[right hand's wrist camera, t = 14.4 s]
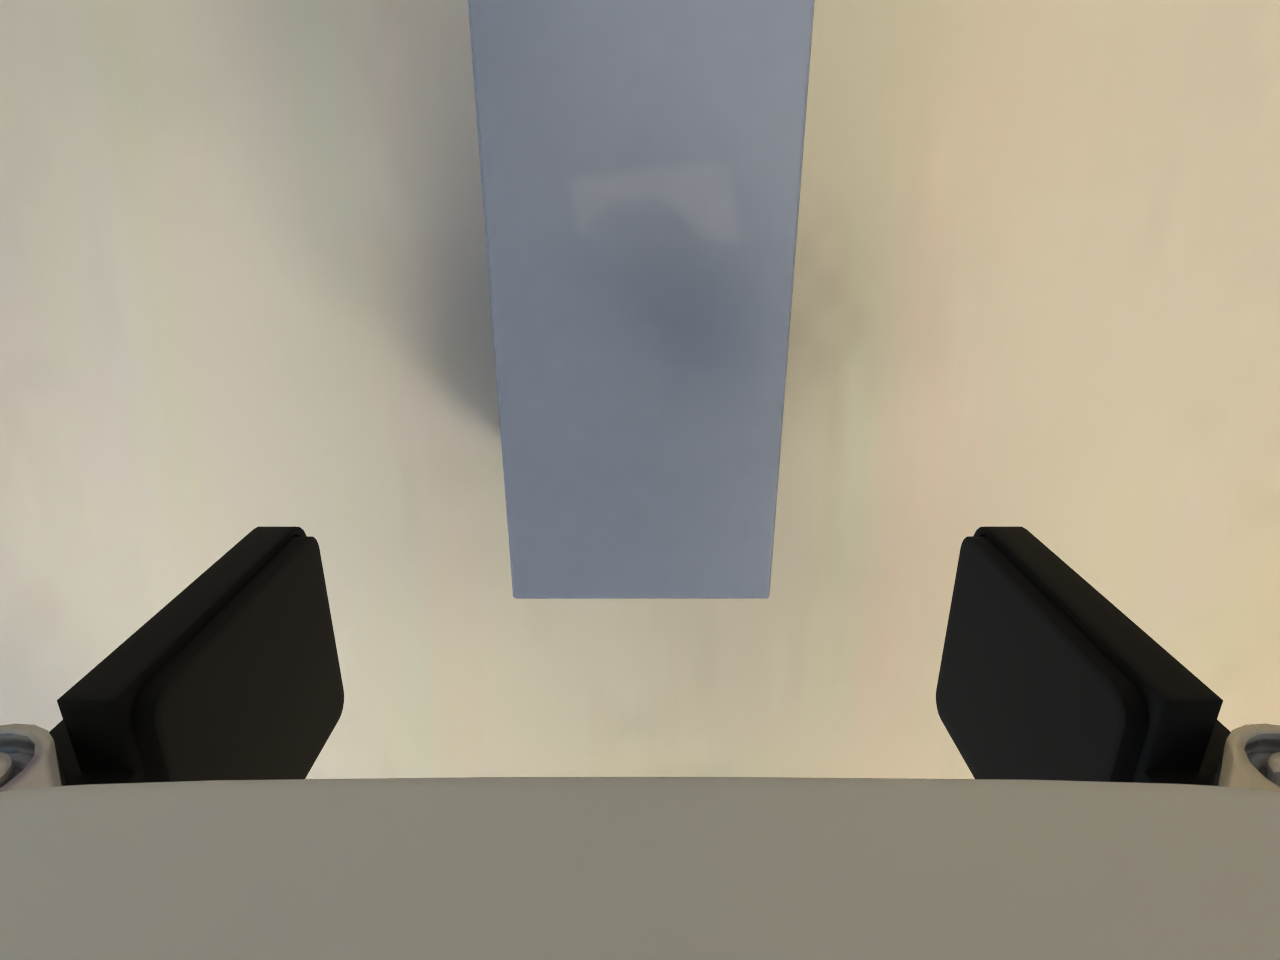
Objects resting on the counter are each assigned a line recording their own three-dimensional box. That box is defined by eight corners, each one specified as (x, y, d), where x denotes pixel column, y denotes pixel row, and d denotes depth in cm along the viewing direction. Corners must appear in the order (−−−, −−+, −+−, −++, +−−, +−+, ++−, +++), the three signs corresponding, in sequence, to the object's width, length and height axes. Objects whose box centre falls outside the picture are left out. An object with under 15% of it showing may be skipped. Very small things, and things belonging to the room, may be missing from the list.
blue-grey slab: (521, -56, 21) (452, -189, 13) (759, -57, 21) (829, -190, 13) (549, 477, 27) (512, 599, 19) (732, 477, 27) (769, 599, 19)
